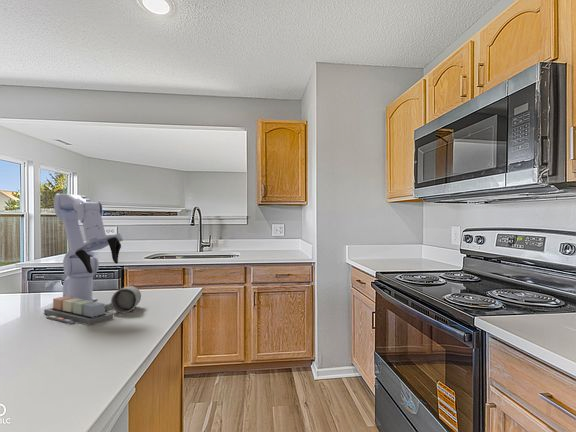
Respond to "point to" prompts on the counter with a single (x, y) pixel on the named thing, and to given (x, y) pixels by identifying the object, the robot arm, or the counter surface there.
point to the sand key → (70, 304)
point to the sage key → (80, 306)
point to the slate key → (94, 309)
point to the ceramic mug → (124, 299)
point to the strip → (61, 319)
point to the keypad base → (78, 316)
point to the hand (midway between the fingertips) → (102, 267)
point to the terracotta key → (60, 302)
